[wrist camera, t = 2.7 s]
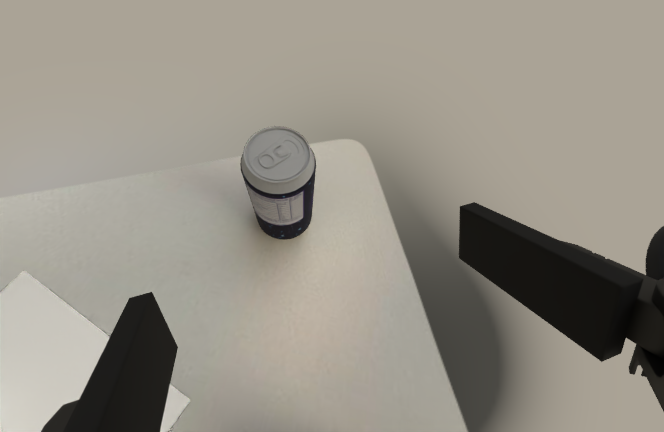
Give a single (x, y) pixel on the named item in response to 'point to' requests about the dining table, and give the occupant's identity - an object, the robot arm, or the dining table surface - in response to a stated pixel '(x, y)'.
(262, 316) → the dining table surface
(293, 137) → the beverage can
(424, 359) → the dining table surface
